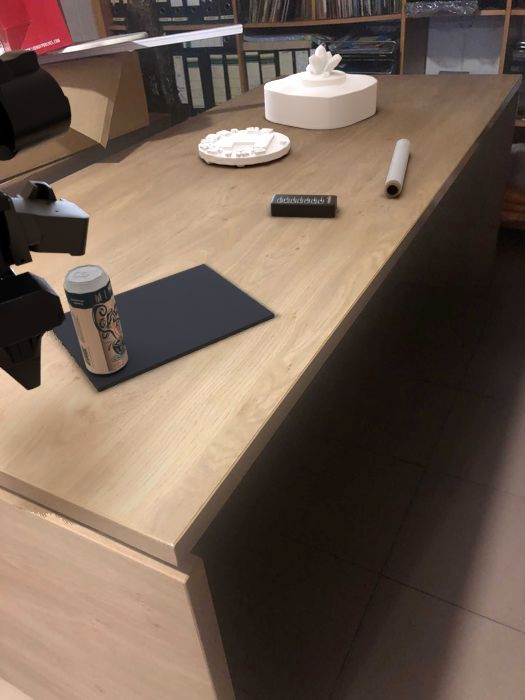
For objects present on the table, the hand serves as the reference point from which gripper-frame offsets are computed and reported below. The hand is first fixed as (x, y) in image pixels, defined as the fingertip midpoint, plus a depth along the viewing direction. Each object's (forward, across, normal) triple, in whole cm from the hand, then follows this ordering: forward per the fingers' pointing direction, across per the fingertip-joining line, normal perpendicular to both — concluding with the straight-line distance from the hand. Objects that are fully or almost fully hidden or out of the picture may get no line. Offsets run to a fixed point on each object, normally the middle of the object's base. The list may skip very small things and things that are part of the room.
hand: (17, 360), depth 51 cm
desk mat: (+12, +16, -20) cm, 28 cm away
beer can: (+12, +10, -10) cm, 19 cm away
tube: (+12, +33, -80) cm, 87 cm away
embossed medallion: (+12, +65, -65) cm, 93 cm away
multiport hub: (+12, +31, -55) cm, 64 cm away
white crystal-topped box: (+12, +78, -97) cm, 125 cm away
